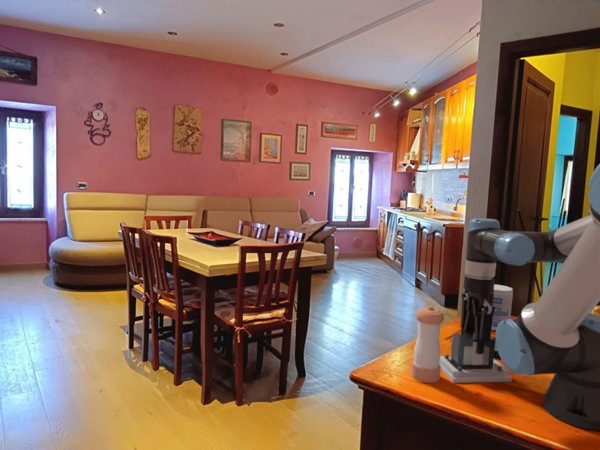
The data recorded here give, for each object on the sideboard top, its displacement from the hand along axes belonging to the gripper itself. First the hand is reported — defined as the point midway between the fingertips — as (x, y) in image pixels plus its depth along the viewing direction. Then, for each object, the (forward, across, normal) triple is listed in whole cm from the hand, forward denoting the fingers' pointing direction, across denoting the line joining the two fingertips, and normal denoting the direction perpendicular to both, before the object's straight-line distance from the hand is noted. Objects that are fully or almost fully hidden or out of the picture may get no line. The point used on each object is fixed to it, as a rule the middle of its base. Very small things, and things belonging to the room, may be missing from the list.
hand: (472, 360), depth 123 cm
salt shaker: (+4, -2, +14) cm, 15 cm away
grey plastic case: (+2, 0, 0) cm, 2 cm away
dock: (+3, 0, 0) cm, 3 cm away
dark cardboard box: (+4, +27, -15) cm, 31 cm away
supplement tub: (+4, +36, -27) cm, 45 cm away
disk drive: (+4, +16, -10) cm, 19 cm away
